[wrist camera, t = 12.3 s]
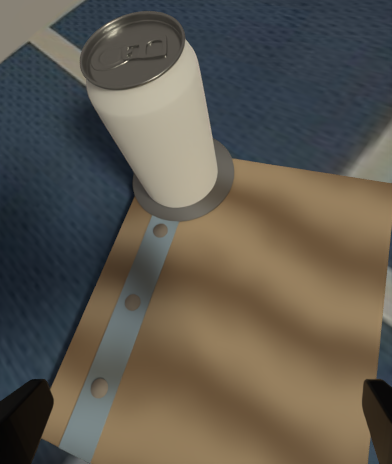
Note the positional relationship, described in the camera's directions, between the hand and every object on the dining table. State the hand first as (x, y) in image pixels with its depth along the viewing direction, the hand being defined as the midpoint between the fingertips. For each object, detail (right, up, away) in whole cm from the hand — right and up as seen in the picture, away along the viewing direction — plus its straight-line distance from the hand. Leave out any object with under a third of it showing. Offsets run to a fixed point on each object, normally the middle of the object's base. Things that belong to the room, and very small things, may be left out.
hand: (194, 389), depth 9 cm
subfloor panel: (+2, 0, +15) cm, 15 cm away
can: (-1, +9, +18) cm, 20 cm away
